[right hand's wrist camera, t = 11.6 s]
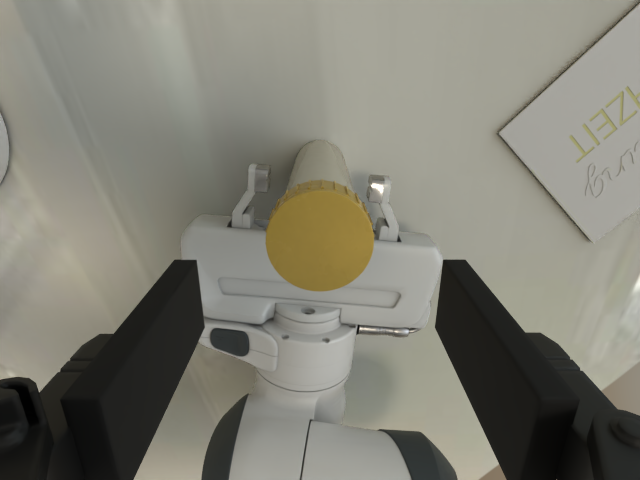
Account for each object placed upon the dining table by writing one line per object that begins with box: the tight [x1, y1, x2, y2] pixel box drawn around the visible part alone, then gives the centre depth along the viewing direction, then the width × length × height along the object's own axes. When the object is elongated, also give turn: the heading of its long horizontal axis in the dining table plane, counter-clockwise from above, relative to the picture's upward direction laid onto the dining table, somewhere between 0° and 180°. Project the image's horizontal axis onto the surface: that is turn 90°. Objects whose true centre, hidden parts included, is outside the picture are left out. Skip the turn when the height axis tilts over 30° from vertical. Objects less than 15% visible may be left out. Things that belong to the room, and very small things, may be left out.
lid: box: [265, 179, 375, 292], centre depth 20 cm, size 5×5×2 cm
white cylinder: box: [285, 140, 355, 194], centre depth 28 cm, size 4×4×19 cm
